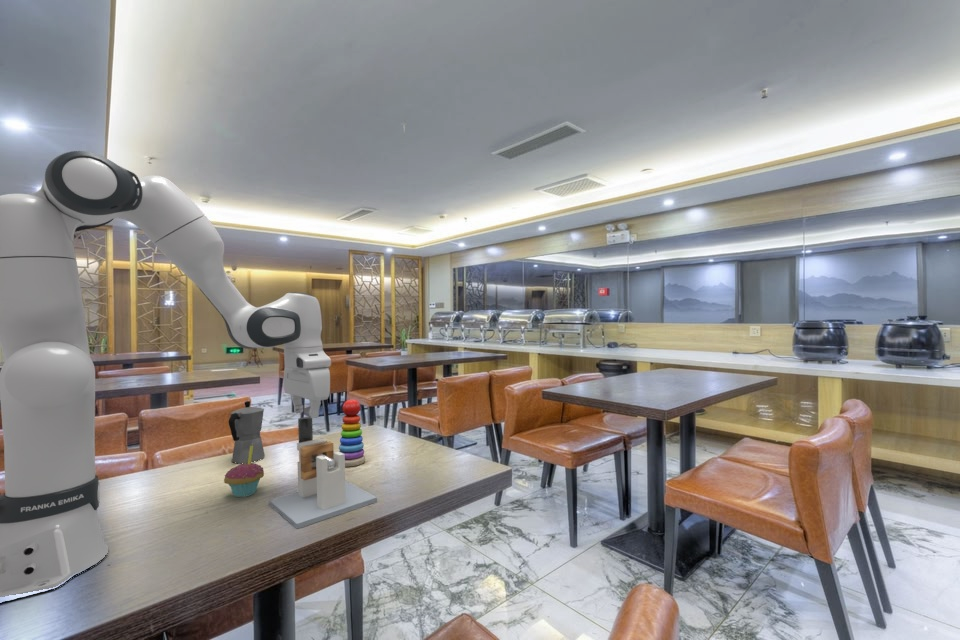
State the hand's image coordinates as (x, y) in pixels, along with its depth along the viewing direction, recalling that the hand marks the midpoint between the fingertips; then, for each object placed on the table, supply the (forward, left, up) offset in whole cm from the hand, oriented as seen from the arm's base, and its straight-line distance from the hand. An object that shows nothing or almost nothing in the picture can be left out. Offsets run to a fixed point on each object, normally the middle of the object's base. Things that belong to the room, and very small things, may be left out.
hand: (306, 415), depth 106 cm
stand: (0, -10, -19) cm, 21 cm away
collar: (0, -7, -13) cm, 15 cm away
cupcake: (-11, +10, -19) cm, 24 cm away
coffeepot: (-3, +39, -19) cm, 44 cm away
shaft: (0, -7, -10) cm, 12 cm away
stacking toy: (+18, +12, -19) cm, 29 cm away
